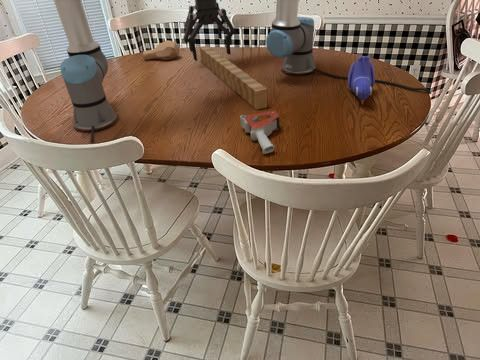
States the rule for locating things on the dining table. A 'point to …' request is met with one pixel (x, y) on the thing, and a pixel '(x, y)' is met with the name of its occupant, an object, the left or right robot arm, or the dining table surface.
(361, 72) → the toy
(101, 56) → the left robot arm
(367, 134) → the dining table surface
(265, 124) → the tape dispenser
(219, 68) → the beam
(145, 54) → the squash
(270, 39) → the right robot arm
